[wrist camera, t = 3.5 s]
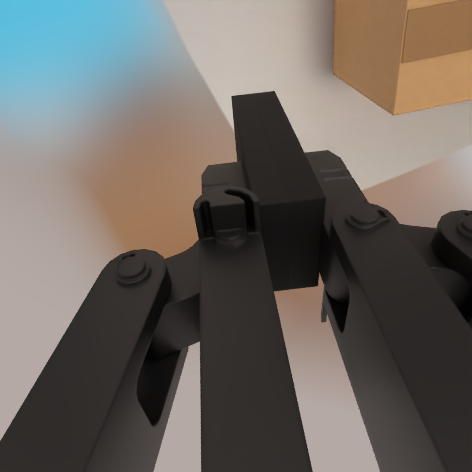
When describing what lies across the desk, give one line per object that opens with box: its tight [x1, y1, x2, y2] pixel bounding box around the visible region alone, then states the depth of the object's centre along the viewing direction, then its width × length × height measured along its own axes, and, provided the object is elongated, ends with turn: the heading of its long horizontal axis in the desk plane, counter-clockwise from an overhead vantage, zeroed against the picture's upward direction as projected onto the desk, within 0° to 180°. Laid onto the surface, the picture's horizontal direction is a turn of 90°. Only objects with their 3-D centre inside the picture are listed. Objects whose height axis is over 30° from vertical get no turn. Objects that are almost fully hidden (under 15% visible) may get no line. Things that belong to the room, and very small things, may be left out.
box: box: [333, 0, 472, 115], centre depth 28 cm, size 14×10×12 cm
